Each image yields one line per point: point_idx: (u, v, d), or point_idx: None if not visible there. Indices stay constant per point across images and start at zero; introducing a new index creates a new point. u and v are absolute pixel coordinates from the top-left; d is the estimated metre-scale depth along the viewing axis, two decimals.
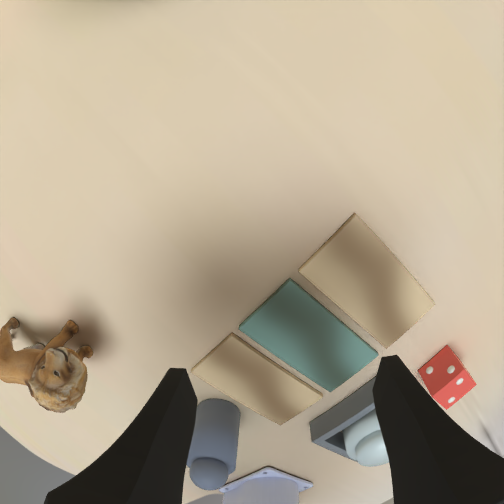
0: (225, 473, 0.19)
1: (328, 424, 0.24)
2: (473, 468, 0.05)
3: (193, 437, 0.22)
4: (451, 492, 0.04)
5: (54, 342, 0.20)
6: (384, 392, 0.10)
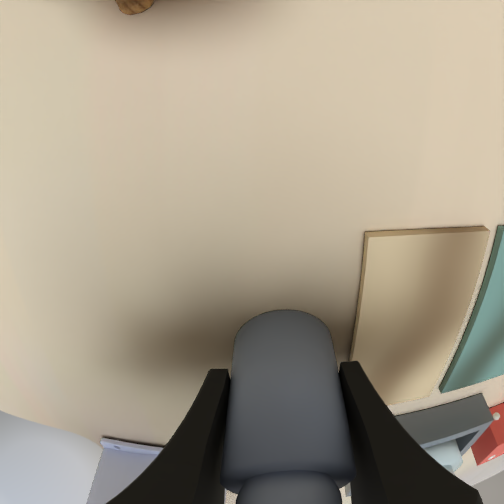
0: None
1: None
2: (420, 487, 0.05)
3: (288, 402, 0.08)
4: None
5: None
6: None
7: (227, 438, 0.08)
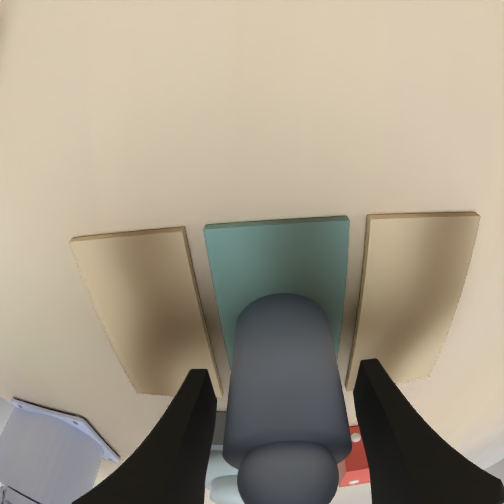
0: None
1: None
2: (447, 478, 0.05)
3: (287, 376, 0.09)
4: (421, 502, 0.04)
5: None
6: (363, 395, 0.10)
7: (229, 412, 0.09)
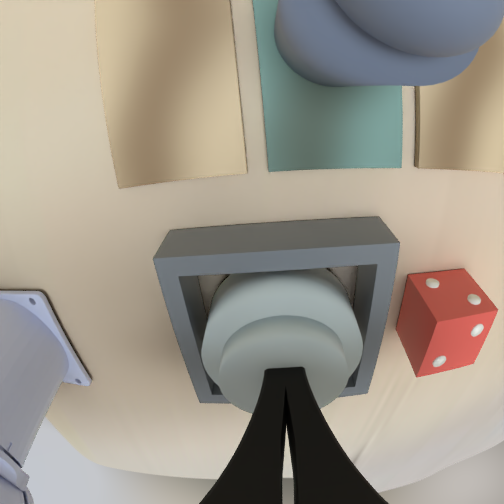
0: None
1: (212, 244, 0.11)
2: None
3: None
4: None
5: None
6: None
7: None
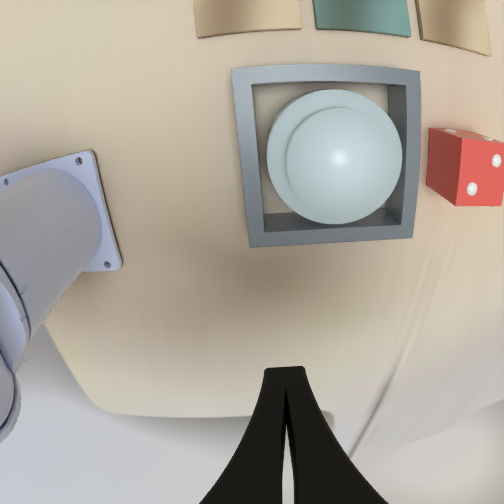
0: None
1: None
2: None
3: None
4: None
5: None
6: None
7: None
